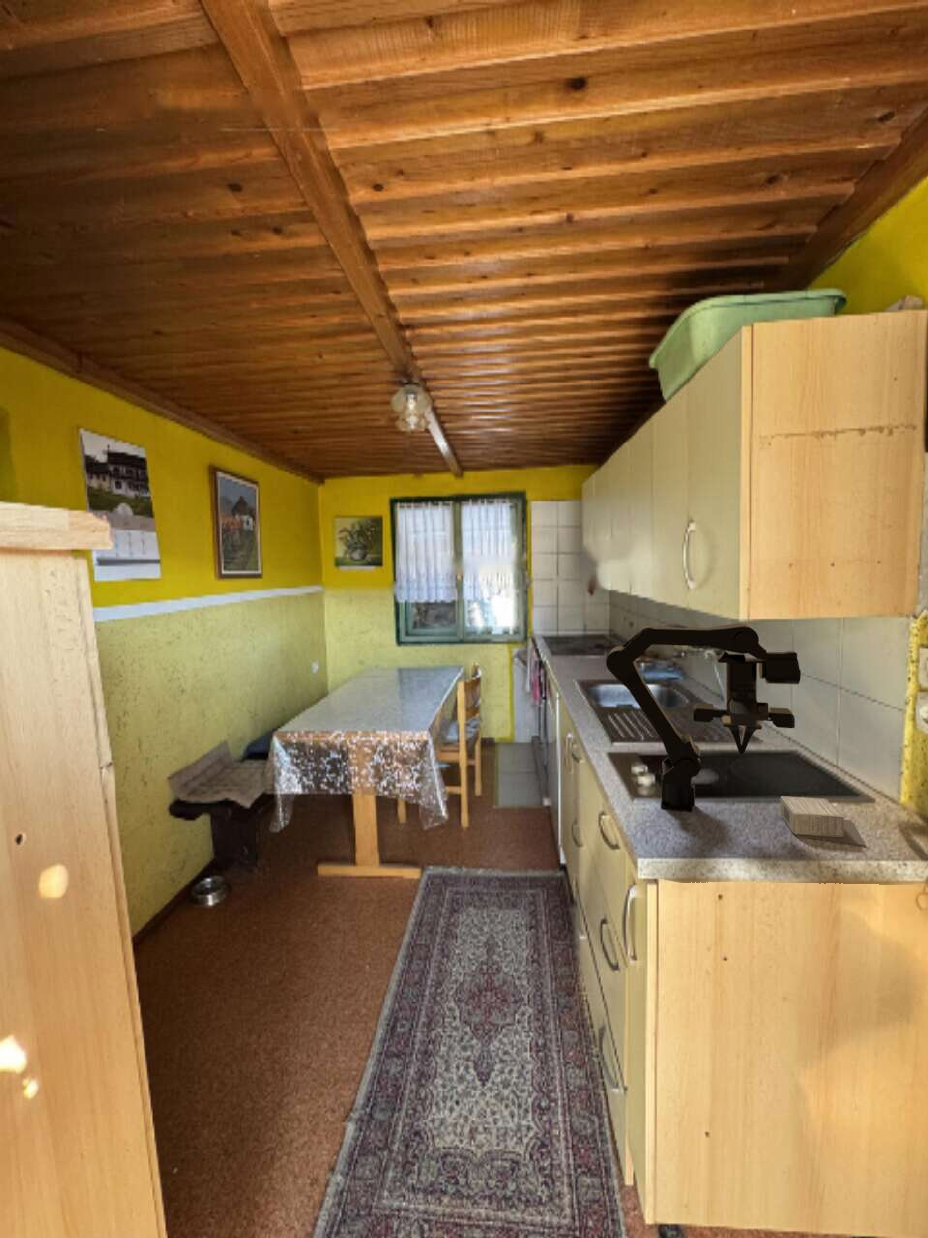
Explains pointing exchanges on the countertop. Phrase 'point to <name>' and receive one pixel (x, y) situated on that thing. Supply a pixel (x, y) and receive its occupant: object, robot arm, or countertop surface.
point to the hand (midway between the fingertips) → (741, 753)
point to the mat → (849, 837)
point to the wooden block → (812, 816)
